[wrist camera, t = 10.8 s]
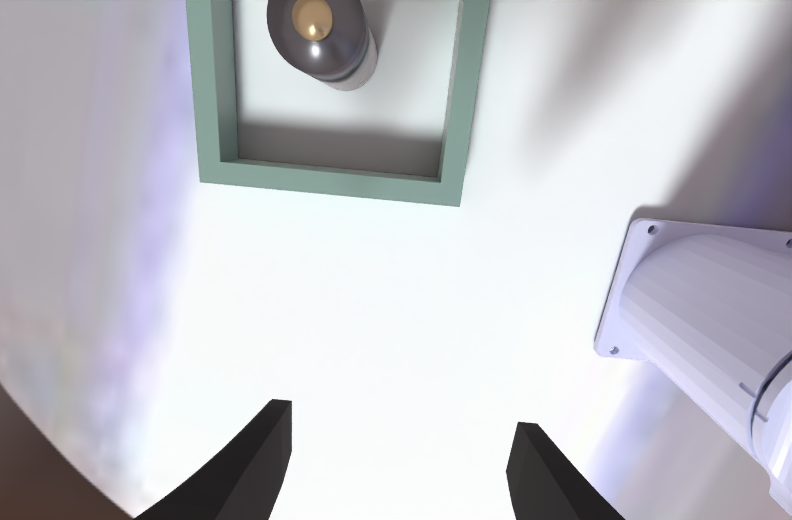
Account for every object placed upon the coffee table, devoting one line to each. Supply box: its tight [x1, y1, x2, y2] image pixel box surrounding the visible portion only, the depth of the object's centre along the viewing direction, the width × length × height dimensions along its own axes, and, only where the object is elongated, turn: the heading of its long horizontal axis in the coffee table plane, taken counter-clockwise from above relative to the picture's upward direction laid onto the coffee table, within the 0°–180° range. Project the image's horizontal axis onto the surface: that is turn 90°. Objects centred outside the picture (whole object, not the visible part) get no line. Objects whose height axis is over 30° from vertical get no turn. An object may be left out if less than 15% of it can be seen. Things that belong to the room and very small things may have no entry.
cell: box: [267, 0, 377, 91], centre depth 14 cm, size 3×3×6 cm
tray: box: [186, 0, 490, 207], centre depth 17 cm, size 12×12×2 cm
